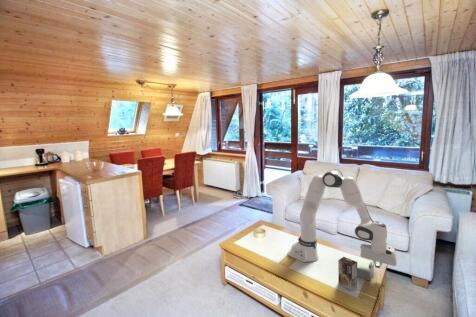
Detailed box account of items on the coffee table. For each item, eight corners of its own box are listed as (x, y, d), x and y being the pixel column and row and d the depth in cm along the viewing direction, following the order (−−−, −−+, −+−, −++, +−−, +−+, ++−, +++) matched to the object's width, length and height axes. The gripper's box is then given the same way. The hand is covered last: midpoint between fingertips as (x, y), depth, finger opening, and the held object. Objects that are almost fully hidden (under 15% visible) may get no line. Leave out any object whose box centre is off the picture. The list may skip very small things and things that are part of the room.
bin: (345, 272, 162) (345, 265, 162) (350, 264, 172) (350, 257, 171) (370, 280, 153) (370, 272, 153) (373, 271, 163) (373, 263, 162)
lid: (345, 265, 162) (345, 261, 161) (350, 257, 171) (350, 253, 171) (370, 272, 153) (370, 268, 152) (373, 263, 162) (373, 259, 162)
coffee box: (357, 286, 148) (358, 262, 146) (351, 291, 144) (352, 265, 142) (343, 279, 155) (343, 256, 153) (337, 283, 152) (338, 259, 150)
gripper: (359, 244, 158) (358, 264, 159) (396, 253, 145) (395, 275, 147) (361, 241, 163) (361, 260, 164) (397, 249, 150) (396, 270, 152)
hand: (377, 267), depth 155 cm, fingers closed
